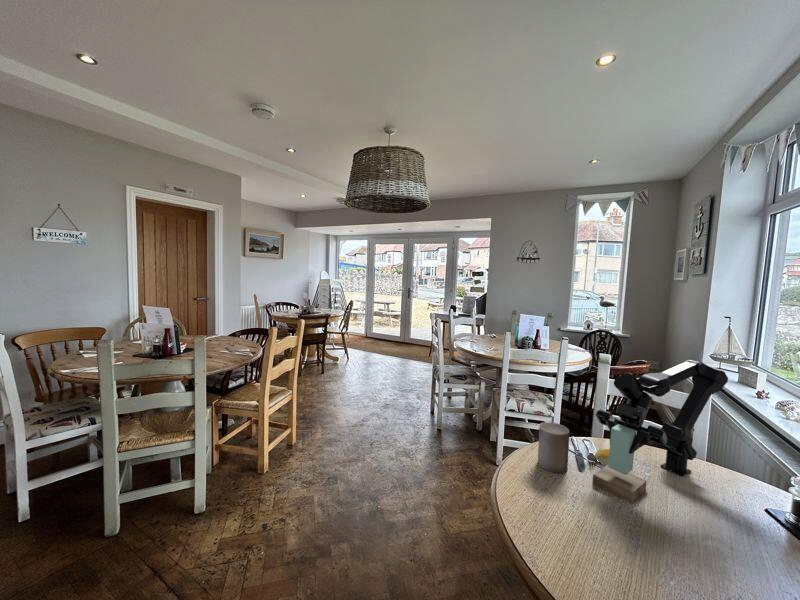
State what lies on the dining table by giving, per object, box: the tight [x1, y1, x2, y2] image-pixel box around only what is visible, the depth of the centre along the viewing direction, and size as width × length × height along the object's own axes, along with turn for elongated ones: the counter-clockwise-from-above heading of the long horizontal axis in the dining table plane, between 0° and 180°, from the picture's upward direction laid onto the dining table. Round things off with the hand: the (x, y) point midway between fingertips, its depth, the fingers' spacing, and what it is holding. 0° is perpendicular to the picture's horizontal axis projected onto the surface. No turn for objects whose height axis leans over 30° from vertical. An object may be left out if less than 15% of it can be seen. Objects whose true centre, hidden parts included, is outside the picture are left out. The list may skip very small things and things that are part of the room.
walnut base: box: [592, 465, 647, 503], centre depth 106 cm, size 11×11×3 cm
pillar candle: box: [537, 421, 570, 474], centre depth 116 cm, size 10×10×15 cm
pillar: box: [608, 424, 637, 475], centre depth 105 cm, size 5×5×13 cm
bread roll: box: [594, 448, 610, 467], centre depth 121 cm, size 8×9×4 cm
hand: (620, 449), depth 104 cm, fingers closed on pillar, 5 cm apart
